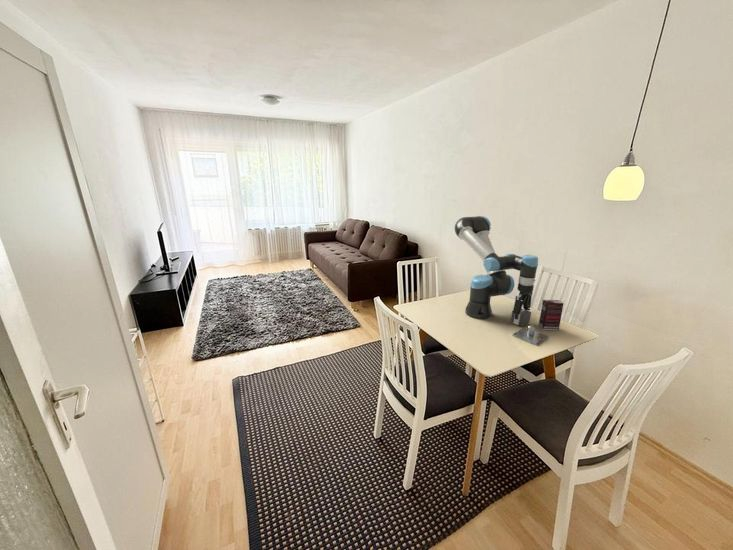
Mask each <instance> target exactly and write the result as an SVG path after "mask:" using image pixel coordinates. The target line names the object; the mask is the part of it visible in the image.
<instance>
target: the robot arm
mask: <svg viewBox="0 0 733 550" xmlns="http://www.w3.org/2000/svg"><path fill="white" fill-rule="evenodd" d="M491 225H492V223H491V221H490V219H489V218H487V217H486V216H484V215H483V216H482V215H478V216H465V217H461V218H459V219H457V221H456V223H455V224H454V232H455V234H456V236H457V237H458V238H459V239H460V240H463V242H465V243H466V244H467V246H468V247H470V248H471V250H472V251H473V252H474V253H476V255H477V256H478V257H479V258H480V259H481V260H482V263H483V267H484V270H485V271H486V274H478V275H475V276H473V277H472V278H471V280H470V281H471V282H470V291H469V300H468V303H467V305H466V306H465V315H467V316H469V317H471V318H474V319H481V320H483V319H484V320H485V319H489V318H491V317H492V316H493V311H492V310H493V309H492V306H491V298H492V297H498V296H505V295H509V294H511V293H512V292H513V291H514V288H515V279H514V277H513V276H512V275H511V274H507V272H506V271H507V270H516V271H519V276H518V283H517V291H519V292H518V293H519V294H518V295H515V298H514V299H515V301H514V304H513V305H514V306H513V310H512V311H513V313H515V316H514V323H513V324H514V325H517V326H520V325H519V320H520V311H521V309H525V310H527V311H531V304H532V296H533V291H534V286H535V282H536V274H537V269H538V266H539V257H538V256H536V255H533V254H524V255H523V256H521V255H520V256H519V255H518V254H517V255H516V254H514V253H507V254H505V255H503V256H499V255H498V254H497V253H496V251H495V248H494V247H493V245H492V242H491V239H490V236H489V234H490V231H491Z"/></svg>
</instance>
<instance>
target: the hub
mask: <svg viewBox="0 0 733 550" xmlns="http://www.w3.org/2000/svg"><path fill="white" fill-rule="evenodd" d="M512 337H515V338H517V339H518V340H522V341H524V342H527V343H529V344H531V345H534V346H538V345H540V344H541V343H543V342H544V341H546V340H547V339H549V335H546V334H544V333H541V332H538V331H536V326H535V325H533V324H527V327H526V326H523V327H522V328H520V329H519V330H517V331H515V332H513V333H512Z"/></svg>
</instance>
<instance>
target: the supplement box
mask: <svg viewBox="0 0 733 550" xmlns="http://www.w3.org/2000/svg"><path fill="white" fill-rule="evenodd" d="M540 308H541V310H540V316H539V322H538V327H539V328H540V330H542V331H559V330H560V326H561V321H562V314H563V308H564V302H563V301H561V300H560V299H542V304H541V307H540Z"/></svg>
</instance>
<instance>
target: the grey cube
mask: <svg viewBox="0 0 733 550" xmlns="http://www.w3.org/2000/svg"><path fill="white" fill-rule="evenodd" d="M531 315H532V311H531V310H528V311H527V310H525V309H523V308H521V311H520V320H519V325H518V326H519V327H522V328H524V327H526V326H528V325H530V323H531V322H530V321H531ZM514 316H515V313H513V310H512V311H511V316H510V323H512V324H514Z"/></svg>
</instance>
